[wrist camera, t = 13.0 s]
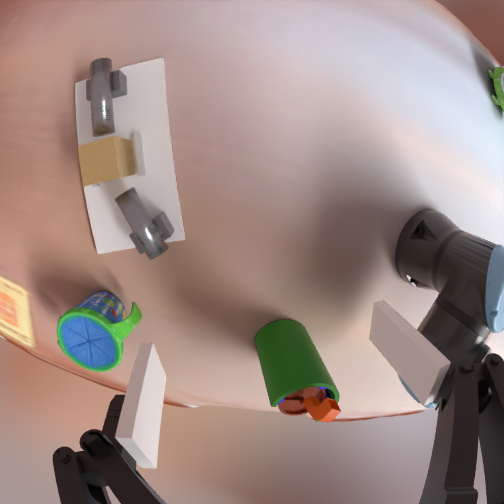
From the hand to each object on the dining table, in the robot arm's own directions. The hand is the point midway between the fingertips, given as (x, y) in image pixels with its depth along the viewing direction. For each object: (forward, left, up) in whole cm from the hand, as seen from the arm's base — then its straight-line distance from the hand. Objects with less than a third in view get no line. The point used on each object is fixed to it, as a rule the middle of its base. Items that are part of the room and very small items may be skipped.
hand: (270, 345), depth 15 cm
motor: (-6, +21, -27) cm, 35 cm away
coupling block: (+15, -13, -26) cm, 32 cm away
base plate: (+14, -14, -27) cm, 33 cm away
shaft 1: (+15, -22, -26) cm, 37 cm away
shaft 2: (+12, -4, -27) cm, 29 cm away
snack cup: (+23, +10, -27) cm, 37 cm away
